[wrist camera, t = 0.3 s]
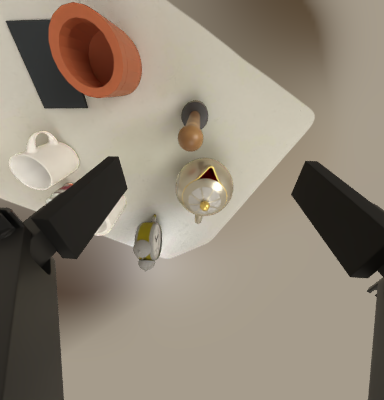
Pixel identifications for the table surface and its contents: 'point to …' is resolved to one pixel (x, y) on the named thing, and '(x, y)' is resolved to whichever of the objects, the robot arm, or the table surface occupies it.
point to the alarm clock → (148, 243)
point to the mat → (44, 65)
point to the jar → (93, 52)
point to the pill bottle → (59, 191)
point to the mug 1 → (43, 163)
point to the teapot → (204, 187)
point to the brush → (192, 125)
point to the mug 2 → (112, 217)
